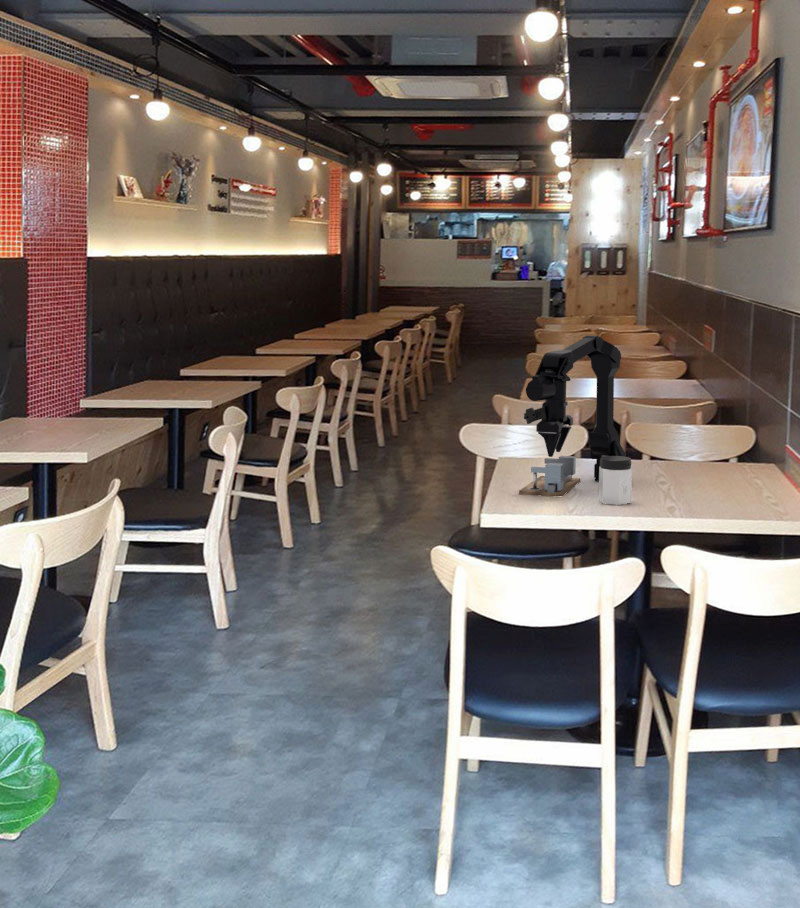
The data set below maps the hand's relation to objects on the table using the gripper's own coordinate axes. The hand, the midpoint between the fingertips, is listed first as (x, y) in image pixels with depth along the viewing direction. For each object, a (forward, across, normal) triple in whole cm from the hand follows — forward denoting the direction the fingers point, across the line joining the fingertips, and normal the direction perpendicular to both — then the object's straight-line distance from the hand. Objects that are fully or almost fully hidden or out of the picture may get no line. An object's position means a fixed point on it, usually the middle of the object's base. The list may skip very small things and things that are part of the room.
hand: (554, 454), depth 323 cm
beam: (+10, -7, -2) cm, 13 cm away
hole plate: (+11, -9, -3) cm, 14 cm away
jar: (+11, +6, +18) cm, 22 cm away
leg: (+10, 0, -2) cm, 10 cm away
